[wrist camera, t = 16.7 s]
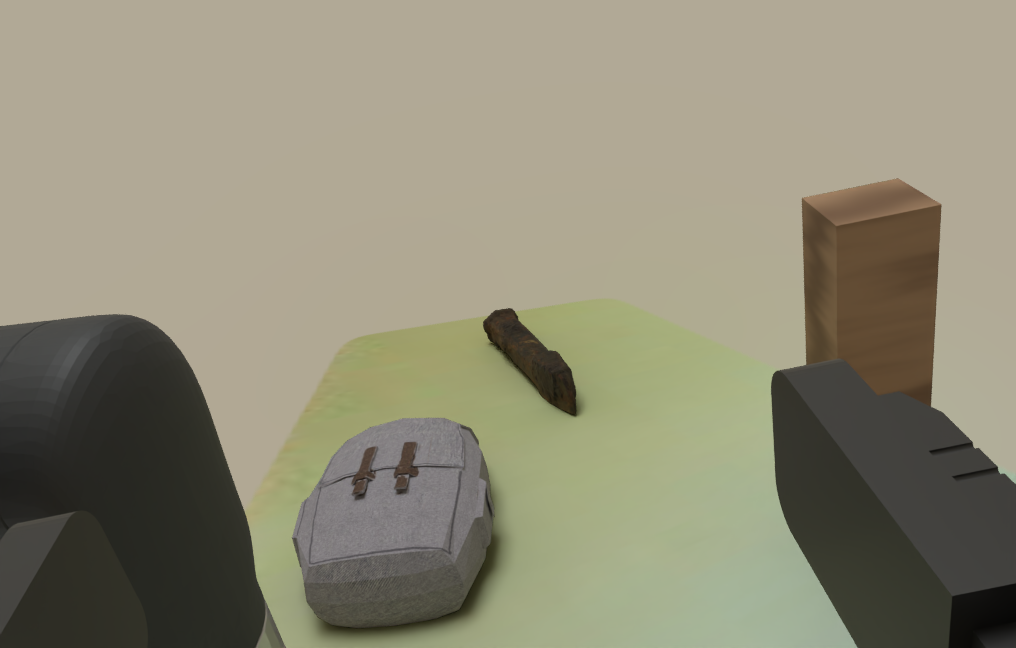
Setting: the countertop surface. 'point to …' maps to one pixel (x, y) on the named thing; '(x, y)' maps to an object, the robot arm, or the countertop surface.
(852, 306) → the wooden peg socket stand
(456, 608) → the small grey backpack
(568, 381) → the hand tool
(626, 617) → the countertop surface
